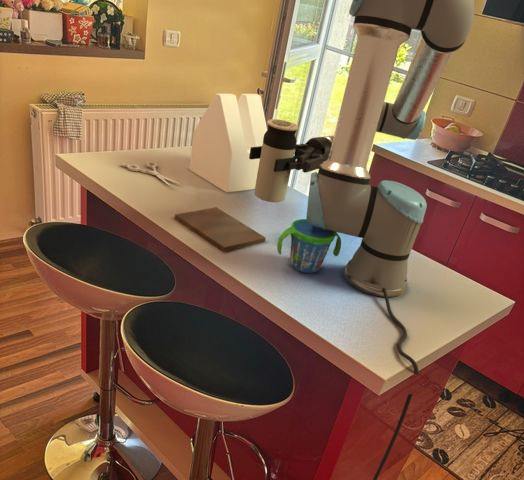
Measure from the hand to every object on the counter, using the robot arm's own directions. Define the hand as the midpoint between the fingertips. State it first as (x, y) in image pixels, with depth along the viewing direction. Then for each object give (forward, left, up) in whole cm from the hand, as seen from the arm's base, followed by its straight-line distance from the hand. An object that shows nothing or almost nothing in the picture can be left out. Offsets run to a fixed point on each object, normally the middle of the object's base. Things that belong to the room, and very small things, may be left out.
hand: (263, 159), depth 130 cm
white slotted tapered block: (+40, -10, -20) cm, 46 cm away
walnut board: (+4, +7, -20) cm, 21 cm away
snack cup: (-17, -7, -20) cm, 27 cm away
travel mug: (+2, -5, -10) cm, 11 cm away
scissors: (+41, +13, -20) cm, 47 cm away
